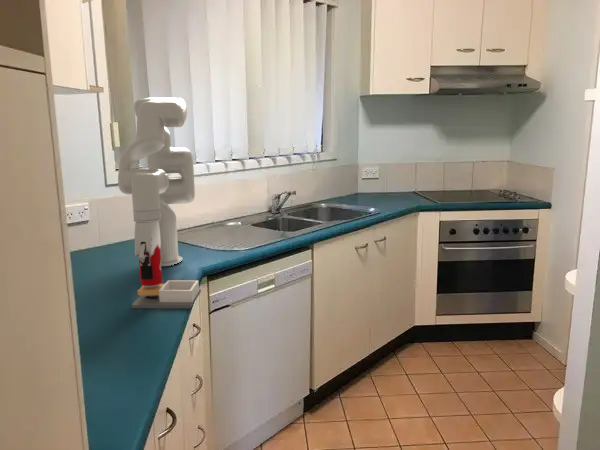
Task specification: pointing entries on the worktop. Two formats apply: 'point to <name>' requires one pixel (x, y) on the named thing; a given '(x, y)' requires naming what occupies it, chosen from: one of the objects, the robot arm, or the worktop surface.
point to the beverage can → (156, 270)
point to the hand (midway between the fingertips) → (151, 274)
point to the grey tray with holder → (172, 295)
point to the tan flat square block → (150, 290)
